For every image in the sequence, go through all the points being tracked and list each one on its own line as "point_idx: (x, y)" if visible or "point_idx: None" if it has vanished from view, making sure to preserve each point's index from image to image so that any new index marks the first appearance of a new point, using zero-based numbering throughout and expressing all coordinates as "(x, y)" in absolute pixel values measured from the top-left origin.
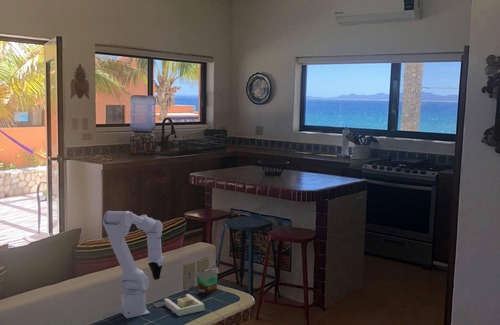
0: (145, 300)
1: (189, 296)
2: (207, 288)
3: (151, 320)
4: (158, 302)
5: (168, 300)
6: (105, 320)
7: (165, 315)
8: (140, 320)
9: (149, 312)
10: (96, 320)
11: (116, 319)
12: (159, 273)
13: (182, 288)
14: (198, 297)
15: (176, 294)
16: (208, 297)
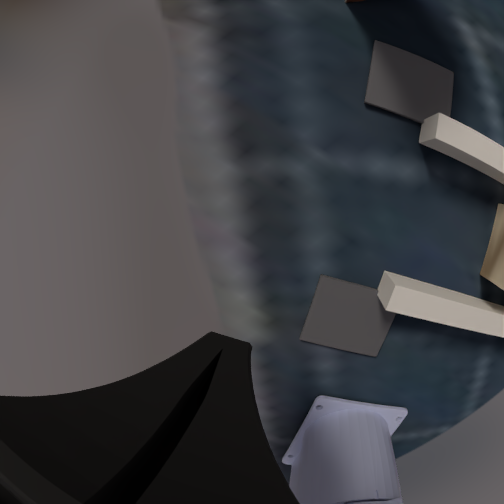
0: (391, 458)
1: (487, 157)
2: None
3: (457, 423)
4: (314, 302)
5: (435, 309)
6: None
7: (481, 368)
8: (418, 447)
9: (406, 412)
10: None
11: None
12: (245, 398)
13: (172, 25)
14: (441, 70)
15: (249, 103)
16: (461, 38)
